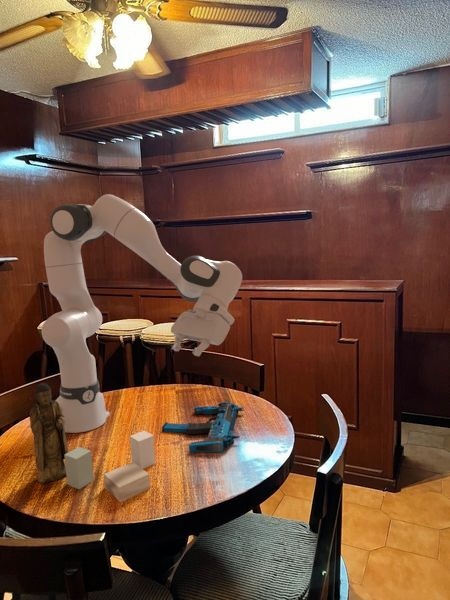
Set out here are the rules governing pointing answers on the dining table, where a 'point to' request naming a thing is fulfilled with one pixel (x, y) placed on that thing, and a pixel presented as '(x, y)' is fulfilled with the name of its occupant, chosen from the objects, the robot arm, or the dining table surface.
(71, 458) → the sage pillar
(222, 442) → the submachine gun
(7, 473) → the dining table surface
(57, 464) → the statue
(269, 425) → the dining table surface
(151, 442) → the cream pillar
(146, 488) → the birch slab
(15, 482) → the dining table surface
